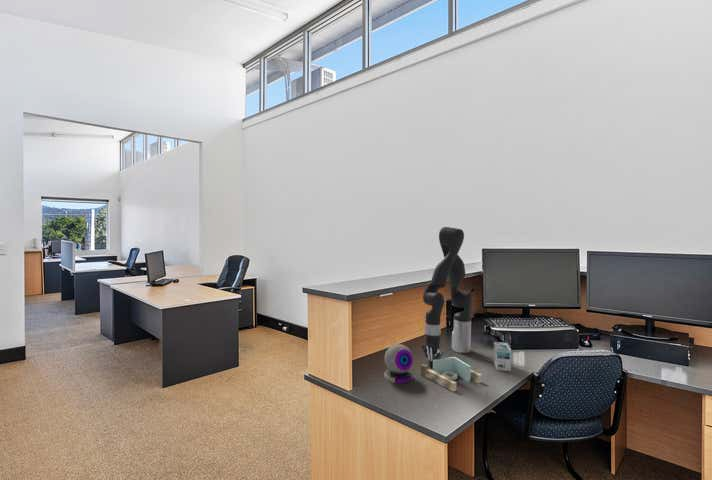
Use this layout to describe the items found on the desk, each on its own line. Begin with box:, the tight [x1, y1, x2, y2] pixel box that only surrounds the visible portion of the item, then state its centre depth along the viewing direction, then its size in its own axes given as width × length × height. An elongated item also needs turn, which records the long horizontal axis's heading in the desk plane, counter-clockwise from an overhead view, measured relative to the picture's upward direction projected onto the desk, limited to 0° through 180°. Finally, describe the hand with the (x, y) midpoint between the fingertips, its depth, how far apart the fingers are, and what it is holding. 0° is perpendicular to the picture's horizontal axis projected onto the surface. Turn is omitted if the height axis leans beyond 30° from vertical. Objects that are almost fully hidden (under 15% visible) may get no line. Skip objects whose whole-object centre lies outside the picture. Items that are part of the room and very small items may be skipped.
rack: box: [420, 363, 483, 392], centre depth 170 cm, size 20×18×4 cm
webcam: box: [383, 343, 414, 384], centre depth 170 cm, size 13×13×15 cm
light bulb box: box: [493, 341, 512, 372], centre depth 184 cm, size 11×7×11 cm, turn 168°
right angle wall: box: [432, 356, 472, 382], centre depth 170 cm, size 12×12×8 cm
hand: (431, 367), depth 180 cm, fingers closed
